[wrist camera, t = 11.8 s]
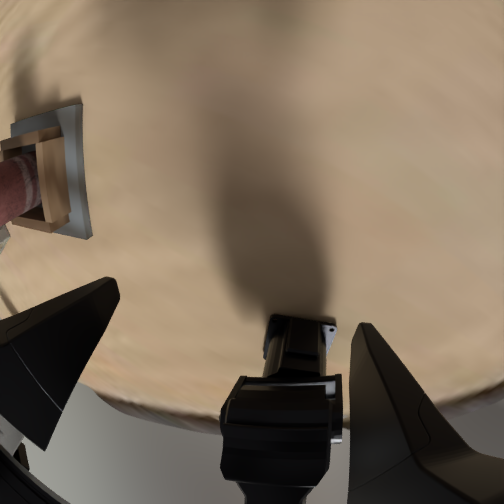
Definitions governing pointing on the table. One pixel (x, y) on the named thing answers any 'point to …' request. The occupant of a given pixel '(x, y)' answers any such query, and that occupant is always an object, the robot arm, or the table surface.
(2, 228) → the coffee box
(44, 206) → the collar
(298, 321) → the robot arm
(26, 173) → the can
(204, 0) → the table surface
